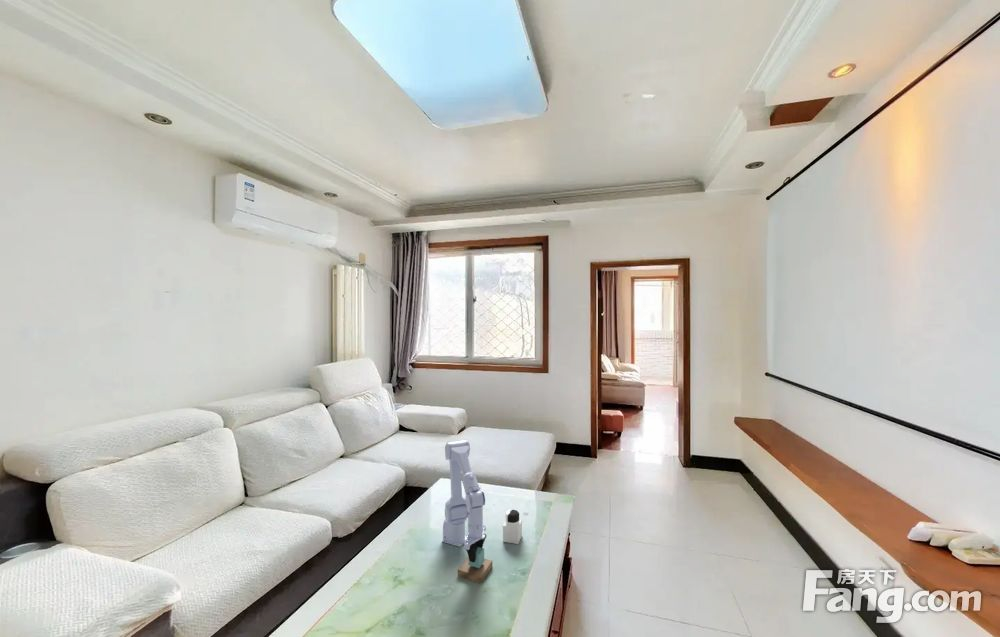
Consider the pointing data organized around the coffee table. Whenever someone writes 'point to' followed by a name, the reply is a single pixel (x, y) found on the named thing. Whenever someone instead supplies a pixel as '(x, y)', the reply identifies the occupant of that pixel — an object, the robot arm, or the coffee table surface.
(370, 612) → the coffee table surface
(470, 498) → the robot arm
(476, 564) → the teal block
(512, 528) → the medicine bottle
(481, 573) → the walnut slab
